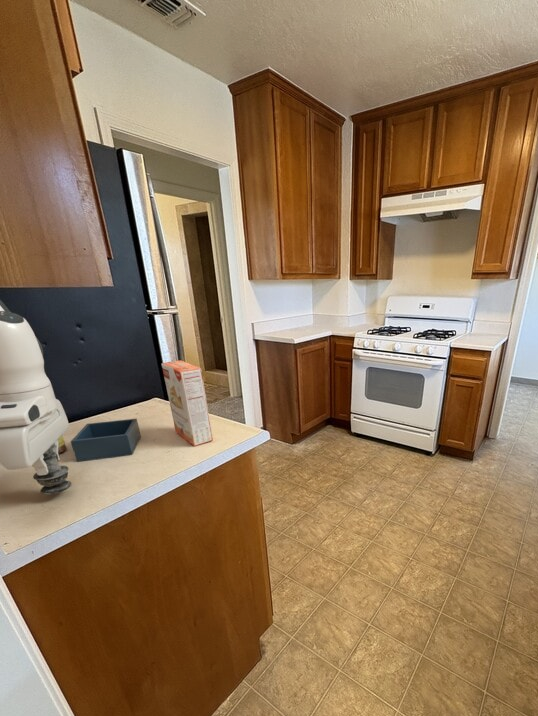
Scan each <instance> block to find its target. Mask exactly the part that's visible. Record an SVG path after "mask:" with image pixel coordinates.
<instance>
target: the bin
mask: <svg viewBox="0 0 538 716" xmlns="http://www.w3.org/2000/svg"><path fill="white" fill-rule="evenodd" d="M139 427H140V426H139V423H138V419H137V418H127V419H119V420H110V421H109V420H108V421H100V422H91V423H86V424H85V425H84V426H83V428H82V429H80V430H79V432H78V433H77V434H76V435H75V436H74V437H73V438H72V439H71V440H70V444H71V447H72V451H73V453H74V456H75V460H76V462H77V463H79V462H86V461H94V460H101V459H103V460H104V459H110V458H117V457H126V456H133V455H134V452H135V450H136V448H137V447H138V444H139V442H140V439H141V437H142V435H141V430H140V428H139Z"/></svg>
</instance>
